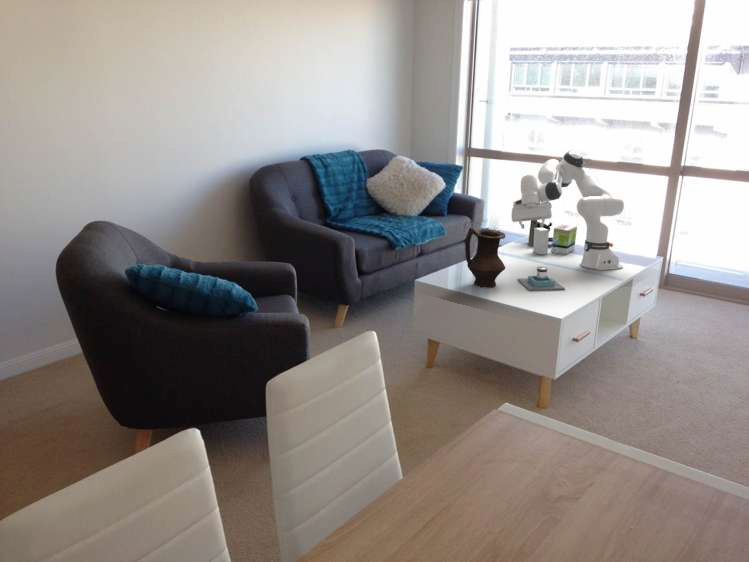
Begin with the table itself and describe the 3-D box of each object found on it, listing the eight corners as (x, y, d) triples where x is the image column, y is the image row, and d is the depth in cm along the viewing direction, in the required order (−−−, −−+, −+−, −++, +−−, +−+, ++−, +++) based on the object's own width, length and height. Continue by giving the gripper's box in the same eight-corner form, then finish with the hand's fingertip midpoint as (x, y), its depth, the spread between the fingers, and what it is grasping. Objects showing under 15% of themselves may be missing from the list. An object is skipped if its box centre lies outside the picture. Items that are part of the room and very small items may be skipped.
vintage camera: (553, 248, 406) (557, 216, 400) (528, 245, 408) (532, 214, 403) (552, 244, 415) (556, 213, 409) (527, 242, 417) (531, 211, 412)
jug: (493, 278, 340) (497, 221, 331) (510, 288, 323) (514, 229, 314) (456, 280, 335) (459, 223, 326) (470, 291, 318) (474, 231, 309)
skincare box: (547, 254, 389) (550, 230, 384) (538, 254, 387) (540, 230, 383) (541, 251, 396) (543, 227, 392) (532, 251, 395) (534, 227, 391)
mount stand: (551, 279, 339) (551, 273, 338) (564, 290, 322) (565, 283, 321) (517, 280, 337) (517, 273, 336) (529, 291, 320) (529, 284, 319)
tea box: (567, 254, 389) (569, 230, 384) (550, 252, 394) (553, 228, 390) (574, 249, 401) (577, 226, 397) (558, 247, 406) (561, 223, 402)
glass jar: (543, 281, 332) (545, 266, 329) (547, 284, 327) (549, 269, 324) (534, 281, 331) (535, 266, 329) (537, 284, 326) (539, 269, 324)
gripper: (551, 203, 341) (553, 227, 336) (511, 208, 346) (512, 231, 341) (551, 198, 335) (553, 222, 330) (510, 202, 340) (511, 226, 335)
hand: (532, 227), depth 336 cm, fingers open, 8 cm apart
